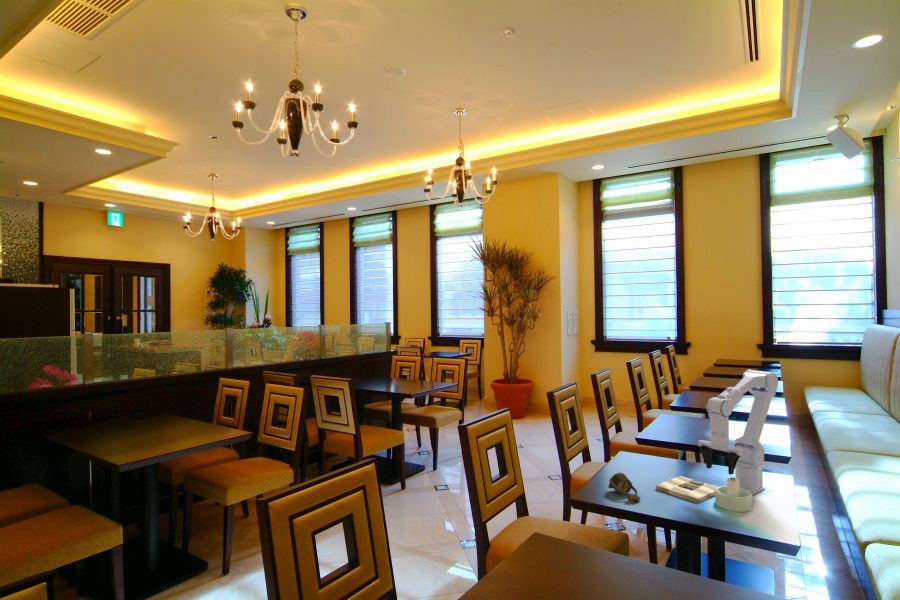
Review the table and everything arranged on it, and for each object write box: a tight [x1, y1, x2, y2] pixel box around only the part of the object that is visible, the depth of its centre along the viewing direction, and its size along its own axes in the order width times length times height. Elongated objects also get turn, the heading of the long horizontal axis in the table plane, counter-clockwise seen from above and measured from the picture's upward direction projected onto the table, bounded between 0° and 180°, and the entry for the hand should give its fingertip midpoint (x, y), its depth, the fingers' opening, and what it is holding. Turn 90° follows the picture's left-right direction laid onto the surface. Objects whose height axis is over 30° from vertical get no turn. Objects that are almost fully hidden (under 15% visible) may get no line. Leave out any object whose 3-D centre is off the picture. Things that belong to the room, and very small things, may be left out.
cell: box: [726, 477, 739, 497], centre depth 172 cm, size 4×4×9 cm
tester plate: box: [655, 475, 719, 504], centre depth 185 cm, size 16×16×2 cm
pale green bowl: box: [714, 485, 753, 513], centre depth 172 cm, size 11×11×4 cm
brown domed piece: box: [607, 472, 641, 503], centre depth 181 cm, size 7×13×10 cm
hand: (720, 470), depth 178 cm, fingers open, 7 cm apart
